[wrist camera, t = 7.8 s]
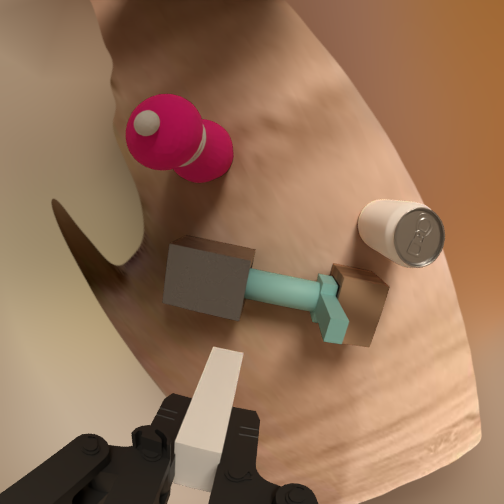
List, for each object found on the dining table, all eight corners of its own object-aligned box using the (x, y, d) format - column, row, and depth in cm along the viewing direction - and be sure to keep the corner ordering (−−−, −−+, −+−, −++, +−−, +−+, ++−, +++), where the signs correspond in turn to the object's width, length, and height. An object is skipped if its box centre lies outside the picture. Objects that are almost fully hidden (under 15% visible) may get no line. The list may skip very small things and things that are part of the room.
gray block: (186, 235, 39) (169, 243, 32) (255, 249, 38) (251, 260, 32) (179, 286, 40) (162, 302, 34) (245, 301, 40) (239, 321, 33)
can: (409, 211, 36) (457, 219, 24) (391, 256, 37) (432, 281, 25) (367, 190, 36) (405, 190, 24) (349, 238, 37) (379, 257, 25)
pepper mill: (228, 190, 37) (176, 187, 18) (174, 176, 37) (84, 165, 18) (244, 135, 36) (210, 76, 16) (190, 122, 36) (114, 66, 16)
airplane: (230, 293, 38) (213, 331, 27) (237, 256, 37) (221, 283, 26) (352, 317, 38) (375, 360, 27) (362, 282, 37) (392, 316, 26)
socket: (333, 263, 38) (344, 277, 31) (372, 271, 38) (389, 286, 31) (318, 317, 39) (325, 340, 33) (356, 324, 39) (369, 347, 33)
